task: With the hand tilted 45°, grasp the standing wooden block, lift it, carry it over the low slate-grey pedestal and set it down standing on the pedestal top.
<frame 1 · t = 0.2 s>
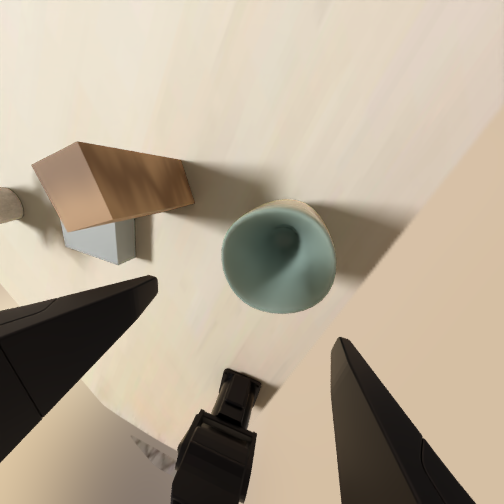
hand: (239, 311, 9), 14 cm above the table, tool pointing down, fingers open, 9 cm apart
wooden block: (171, 187, 23), on the table
cup: (286, 230, 22), on the table
pedestal: (108, 220, 27), on the table
house plant: (7, 204, 32), on the table
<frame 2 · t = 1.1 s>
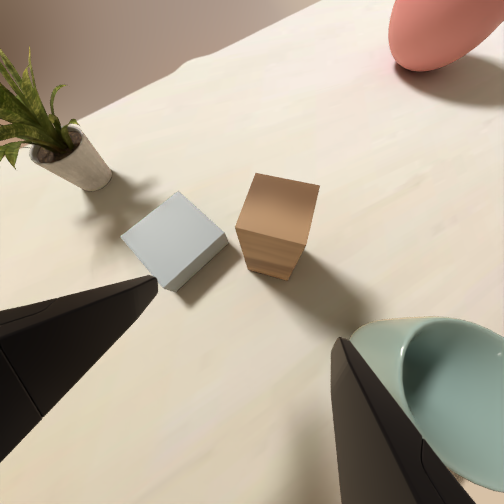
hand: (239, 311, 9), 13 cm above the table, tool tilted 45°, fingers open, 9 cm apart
wooden block: (272, 256, 24), on the table
cup: (372, 360, 19), on the table
pedestal: (181, 244, 25), on the table
house plant: (90, 177, 31), on the table
balloon: (426, 70, 35), on the table
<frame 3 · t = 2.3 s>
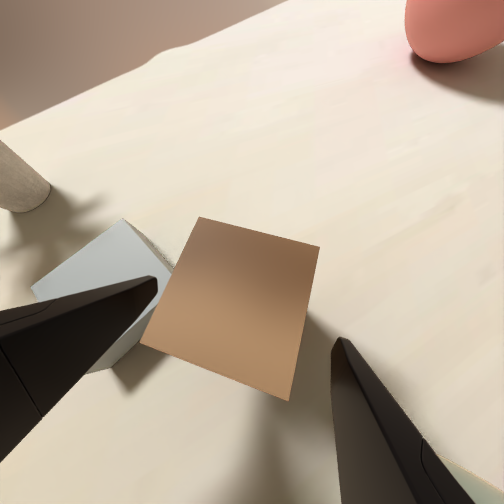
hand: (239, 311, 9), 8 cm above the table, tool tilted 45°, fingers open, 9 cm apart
wooden block: (252, 313, 17), on the table
cup: (403, 497, 12), on the table
pedestal: (127, 291, 18), on the table
house plant: (23, 193, 24), on the table
balloon: (449, 61, 29), on the table
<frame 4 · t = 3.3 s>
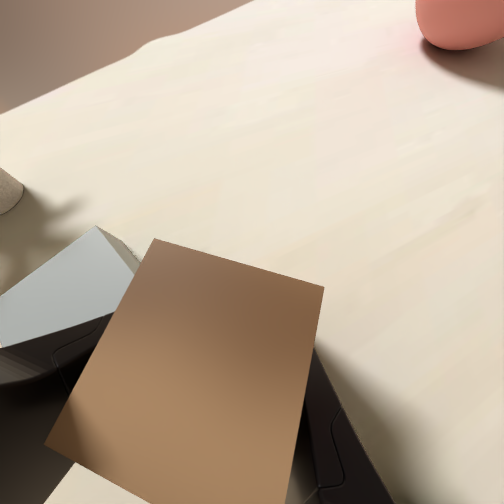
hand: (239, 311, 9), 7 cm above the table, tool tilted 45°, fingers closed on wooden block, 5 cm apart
wooden block: (244, 334, 15), on the table, touching gripper
pedestal: (103, 308, 16), on the table
balloon: (464, 49, 26), on the table
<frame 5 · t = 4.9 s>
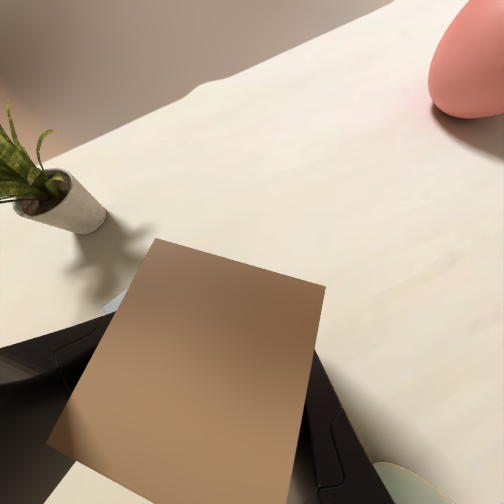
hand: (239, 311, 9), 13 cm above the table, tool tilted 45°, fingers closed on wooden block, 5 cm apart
wooden block: (244, 334, 15), point 7 cm above the table, touching gripper
cup: (385, 502, 16), on the table
house plant: (83, 216, 28), on the table
balloon: (468, 114, 31), on the table
when the fingers open (11 cm above the table, at t = 6.5 s): wooden block drops 1 cm, resting on pedestal.
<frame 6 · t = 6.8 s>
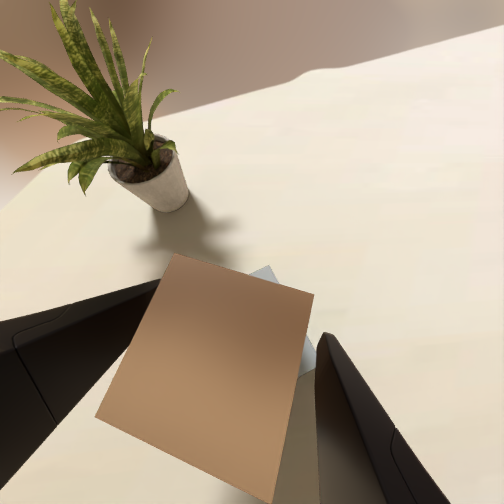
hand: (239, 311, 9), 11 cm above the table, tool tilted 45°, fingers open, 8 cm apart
wooden block: (246, 333, 16), point 3 cm above the table, touching pedestal
pedestal: (248, 332, 19), on the table
house plant: (163, 191, 26), on the table
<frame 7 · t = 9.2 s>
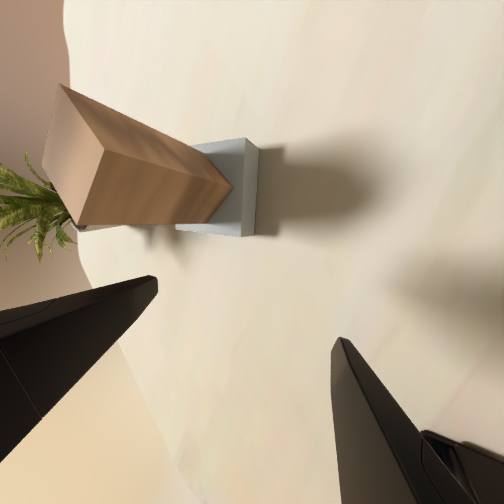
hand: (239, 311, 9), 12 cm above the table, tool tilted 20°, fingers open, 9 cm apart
wooden block: (205, 189, 20), point 3 cm above the table, touching pedestal
pedestal: (222, 193, 22), on the table
house plant: (121, 212, 32), on the table
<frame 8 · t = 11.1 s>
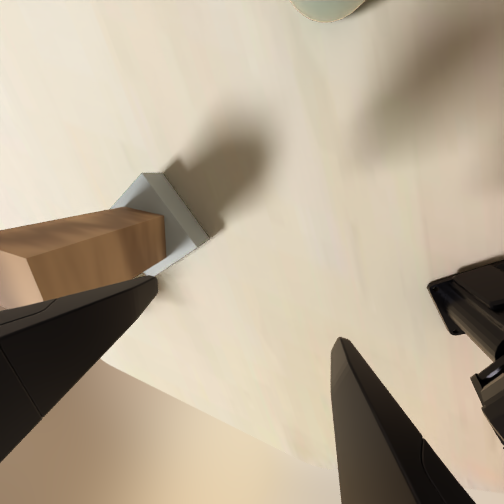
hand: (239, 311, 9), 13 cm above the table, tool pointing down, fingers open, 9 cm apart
wooden block: (146, 232, 21), point 3 cm above the table, touching pedestal
pedestal: (164, 226, 24), on the table
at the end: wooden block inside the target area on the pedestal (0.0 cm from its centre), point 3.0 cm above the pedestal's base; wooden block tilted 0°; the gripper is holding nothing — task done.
